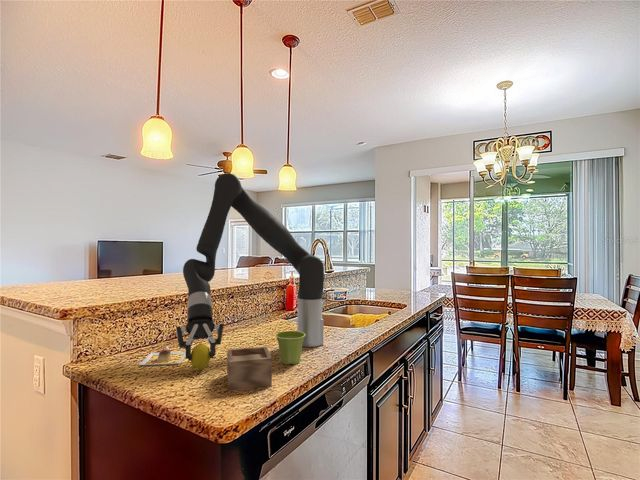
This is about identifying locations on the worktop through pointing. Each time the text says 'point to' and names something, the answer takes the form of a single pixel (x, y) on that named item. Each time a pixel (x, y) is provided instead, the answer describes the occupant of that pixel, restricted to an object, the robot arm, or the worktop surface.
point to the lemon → (200, 356)
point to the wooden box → (249, 368)
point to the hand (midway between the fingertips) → (200, 357)
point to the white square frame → (163, 357)
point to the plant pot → (290, 346)
